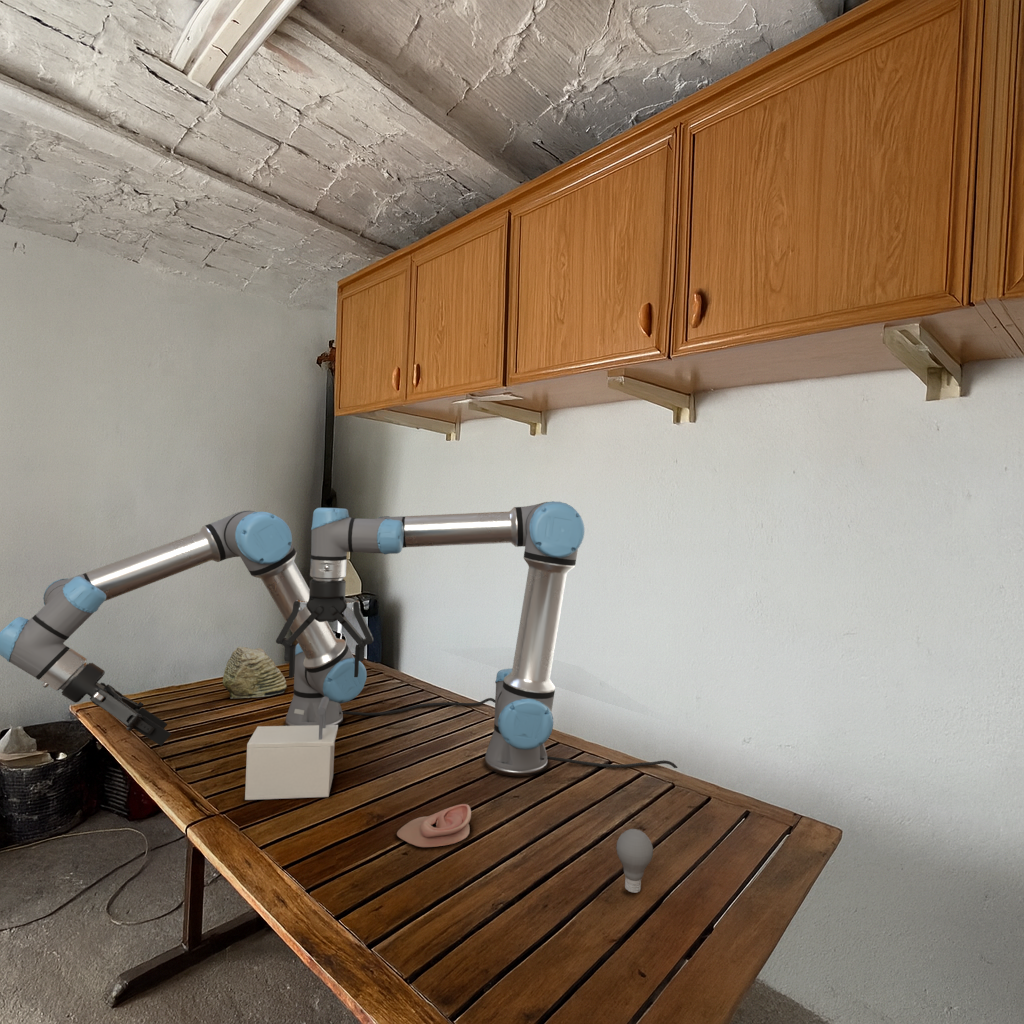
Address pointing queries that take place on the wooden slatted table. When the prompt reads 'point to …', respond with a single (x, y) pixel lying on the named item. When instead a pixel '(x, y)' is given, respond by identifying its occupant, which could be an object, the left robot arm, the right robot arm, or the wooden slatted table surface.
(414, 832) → the anatomical model
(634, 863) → the light bulb
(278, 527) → the left robot arm
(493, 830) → the wooden slatted table surface
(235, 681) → the fossil
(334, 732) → the lid
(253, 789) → the chest
